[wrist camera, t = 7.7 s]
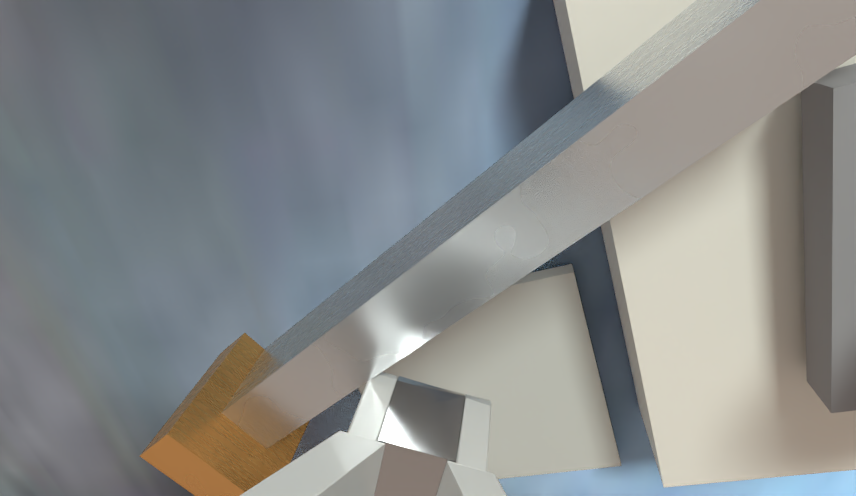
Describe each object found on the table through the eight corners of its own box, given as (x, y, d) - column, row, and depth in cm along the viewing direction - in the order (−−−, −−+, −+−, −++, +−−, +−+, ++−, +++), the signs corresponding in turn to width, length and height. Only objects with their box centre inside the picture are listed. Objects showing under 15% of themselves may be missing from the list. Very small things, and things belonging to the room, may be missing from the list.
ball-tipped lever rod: (896, -246, 7) (1381, -537, 3) (967, -95, 7) (1447, -179, 4) (246, 320, 13) (139, 456, 9) (313, 377, 14) (238, 527, 10)
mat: (410, 477, 20) (408, 488, 20) (330, 315, 17) (325, 324, 16) (618, 453, 18) (621, 466, 17) (571, 263, 15) (573, 271, 14)
